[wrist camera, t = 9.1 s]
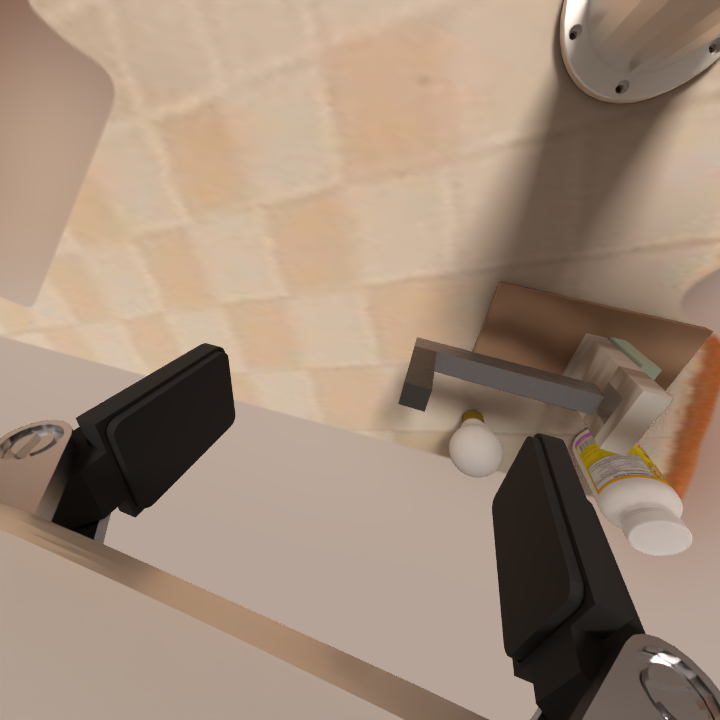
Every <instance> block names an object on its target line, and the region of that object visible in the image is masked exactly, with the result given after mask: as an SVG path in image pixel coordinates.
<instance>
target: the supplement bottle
mask: <svg viewBox="0 0 720 720" xmlns="http://www.w3.org/2000/svg"><path fill="white" fill-rule="evenodd" d="M573 453H574V456H575V458H576V460H577V462H578V464H579V466H580V468H581V471H582V473H583V475H584V477H585V479H586V481H587V483H588V485H589V487H590V489H591V491H592V493H593V495H594V498H595V500H596V502H597V504H598V506H599V508H600V510H601V512H602V514H603V515H604V516H605V518H606V519H607V520H608V521H610V522H611V523H612V524H614V525H615V526H617V527H619V528H621V529H622V530H623V533H624V535H625V536H626V538H627V540H628V542H629V543H630V545H631V546H632V547H633V548H635V549H636V550H638V551H640V552H642V553H645V554H650V555H656V556H664V555H673V554H676V553H680V552H682V551H684V550H686V549H687V548H688V547H689V546H690V545H691V543H692V534H691V533H690V531H689V530H688V529H687V527H686V525H685V524H684V522H683V521H682V520H681V519H680V517H681V515H682V511H683V507H682V502H681V500H680V498H679V496H678V495H677V493H676V492H675V491H674V489H673V488H672V487H671V485H670V484H669V483H668V482H667V480H666V479H665V478H664V476H663V475H662V474H661V472H660V471H659V470H658V469H657V467H656V466H655V465H654V463H653V462H652V461H651V459H650V458H649V457H648V455H647V454H646V453H645V452H644V450H643V449H642V448H641V446H640V445H639V444H638V442H637V443H636V444H635V445H634V446H633V448H632V449H631V450H630V451H629V452H628V454H627V455H626V456H624V455H620V454H617V453H613V452H610V451H606V450H603V449H600V448H599V447H598V445H597V443H596V442H595V440H594V438H593V437H592V435H591V433H590V431H589V430H588V429H587V430H585V431H583V432H582V433H580V434H579V435H578V436H577V437H576V439H575V441H574V443H573Z"/></svg>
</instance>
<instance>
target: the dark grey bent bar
mask: <svg viewBox="0 0 720 720" xmlns="http://www.w3.org/2000/svg"><path fill="white" fill-rule="evenodd" d="M434 371H435V372H438V373H442V374H445V375H449V376H453V377H456V378H460V379H463V380H467V381H471V382H474V383H478V384H481V385H485V386H489V387H492V388H496V389H499V390H503V391H507V392H510V393H514V394H518V395H521V396H525V397H528V398H532V399H536V400H539V401H543V402H546V403H550V404H554V405H557V406H561V407H564V408H568V409H572V410H575V411H579V412H583V413H586V414H590V415H593V413H594V412H595V410H596V409H597V408H598V406H599V405H600V403H601V402H602V400H603V399H604V397H605V396H604V394H603V393H602V392H601V390H600V389H599V388H598V387H597V385H596V384H593V383H589V382H586V381H582V380H578V379H574V378H570V377H567V376H563V375H559V374H555V373H551V372H547V371H544V370H540V369H536V368H532V367H528V366H524V365H521V364H517V363H513V362H509V361H505V360H502V359H498V358H494V357H490V356H486V355H482V354H479V353H475V352H471V351H467V350H463V349H460V348H456V347H452V346H448V345H444V344H440V343H437V342H433V341H429V340H425V339H421V338H418V337H417V340H416V343H415V347H414V350H413V354H412V357H411V361H410V364H409V368H408V372H407V375H406V379H405V382H404V386H403V389H402V393H401V396H400V400H399V404H401V405H404V406H408V407H411V408H414V409H418V410H421V411H424V412H425V409H426V406H427V403H428V400H429V397H430V394H431V391H432V385H433V377H434Z"/></svg>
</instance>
